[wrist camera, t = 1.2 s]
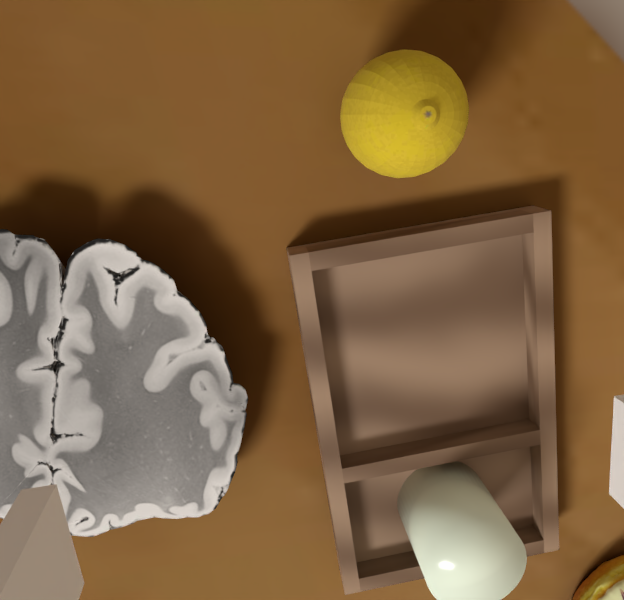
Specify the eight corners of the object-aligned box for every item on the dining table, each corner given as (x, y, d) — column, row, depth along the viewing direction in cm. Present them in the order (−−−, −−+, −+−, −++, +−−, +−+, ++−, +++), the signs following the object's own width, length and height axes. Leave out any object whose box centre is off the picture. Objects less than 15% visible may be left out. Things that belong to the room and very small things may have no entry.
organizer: (286, 247, 32) (289, 255, 30) (533, 205, 33) (551, 210, 31) (339, 571, 39) (345, 594, 37) (543, 529, 40) (558, 549, 38)
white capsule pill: (392, 469, 36) (420, 535, 30) (480, 452, 37) (524, 513, 31) (401, 543, 38) (430, 618, 32) (485, 526, 38) (528, 597, 33)
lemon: (437, 60, 30) (503, 39, 22) (429, 170, 32) (489, 187, 24) (330, 57, 29) (361, 36, 22) (328, 170, 31) (356, 186, 23)
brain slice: (266, 248, 32) (269, 260, 29) (228, 512, 37) (227, 545, 34) (-126, 193, 29) (-166, 202, 26) (-115, 489, 34) (-147, 523, 31)
